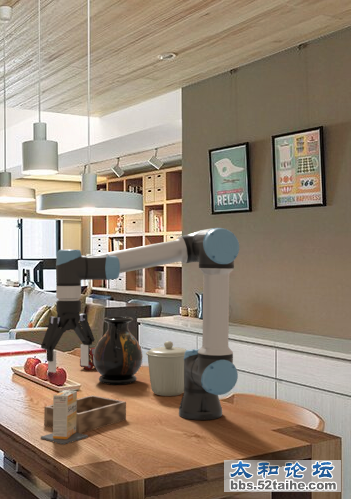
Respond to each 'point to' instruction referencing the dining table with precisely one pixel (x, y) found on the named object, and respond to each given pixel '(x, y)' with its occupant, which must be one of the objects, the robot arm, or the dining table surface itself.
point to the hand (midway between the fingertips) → (68, 368)
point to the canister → (166, 369)
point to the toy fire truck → (90, 364)
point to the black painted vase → (117, 353)
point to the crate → (92, 413)
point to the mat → (63, 441)
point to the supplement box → (64, 414)
